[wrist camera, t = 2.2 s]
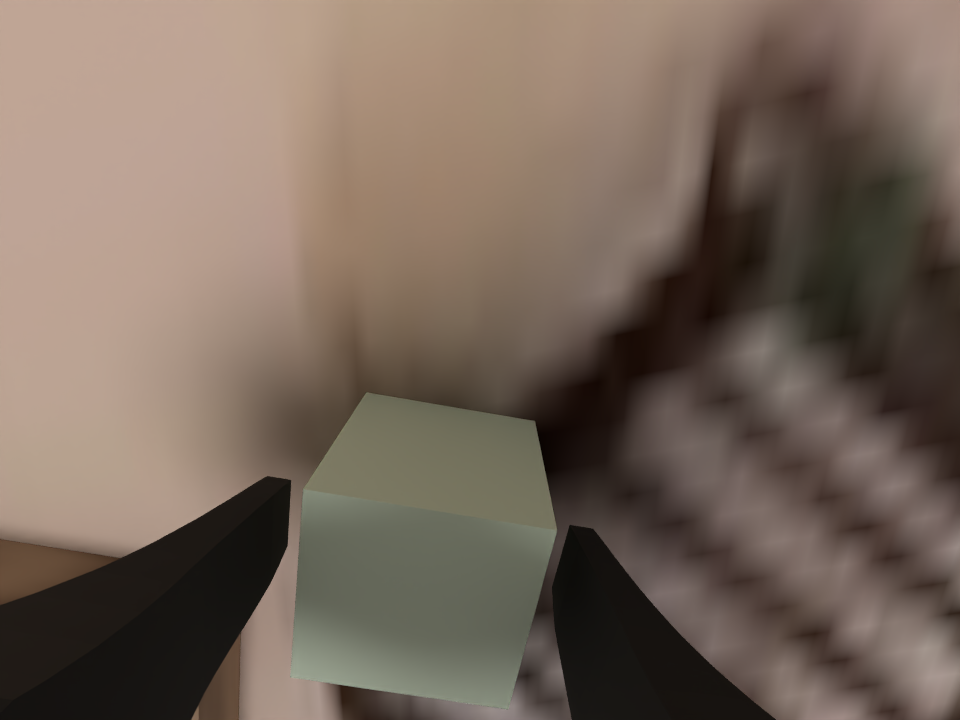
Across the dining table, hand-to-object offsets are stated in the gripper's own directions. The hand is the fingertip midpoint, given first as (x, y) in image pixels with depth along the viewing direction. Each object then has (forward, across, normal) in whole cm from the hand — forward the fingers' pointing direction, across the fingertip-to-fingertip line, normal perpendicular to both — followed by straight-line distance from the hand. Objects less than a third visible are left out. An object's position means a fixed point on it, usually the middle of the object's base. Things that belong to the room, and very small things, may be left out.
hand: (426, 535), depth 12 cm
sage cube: (+3, 0, 0) cm, 3 cm away
